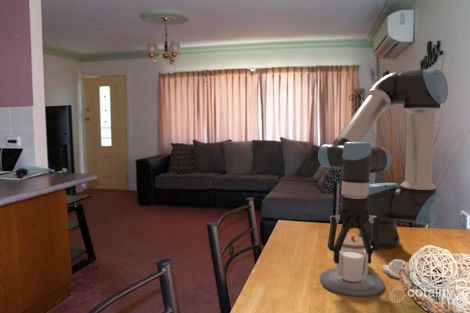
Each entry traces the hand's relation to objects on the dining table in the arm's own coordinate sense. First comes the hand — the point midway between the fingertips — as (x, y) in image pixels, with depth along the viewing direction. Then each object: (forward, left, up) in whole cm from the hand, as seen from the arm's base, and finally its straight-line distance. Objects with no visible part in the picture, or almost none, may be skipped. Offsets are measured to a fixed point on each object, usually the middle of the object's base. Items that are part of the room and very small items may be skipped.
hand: (351, 273), depth 115 cm
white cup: (0, 0, -1) cm, 1 cm away
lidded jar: (-5, -16, -3) cm, 17 cm away
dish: (0, 0, -3) cm, 3 cm away
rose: (-17, -7, -3) cm, 19 cm away
